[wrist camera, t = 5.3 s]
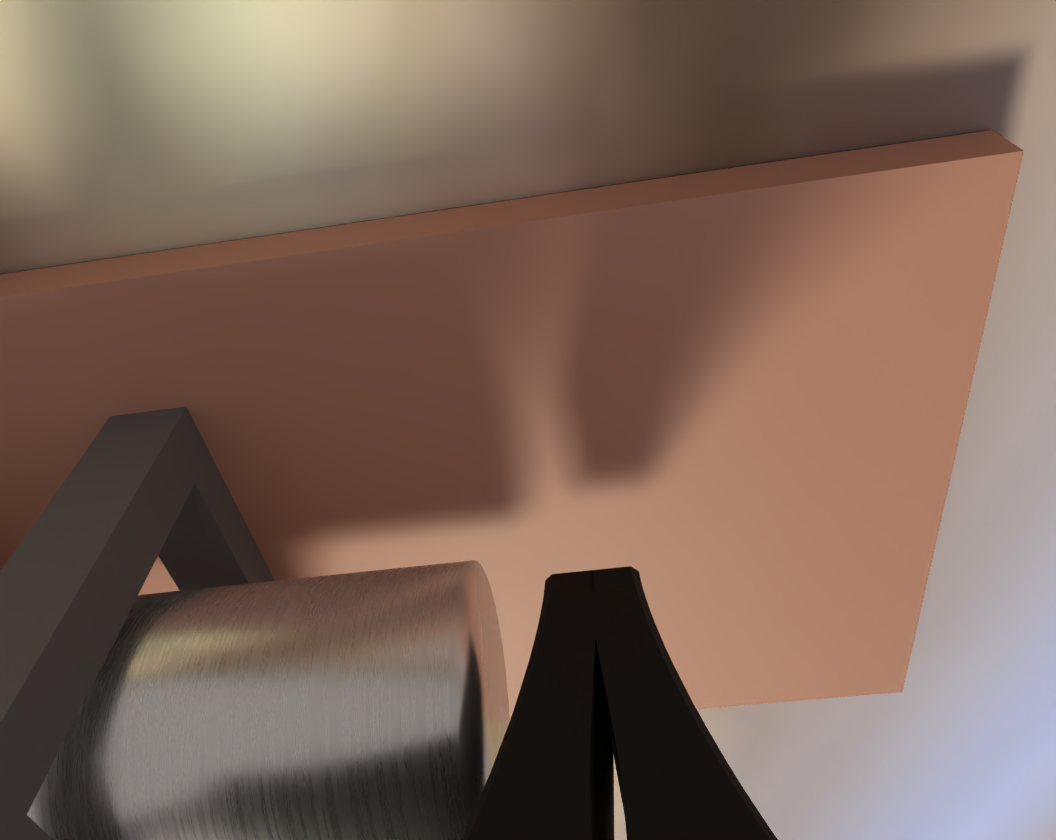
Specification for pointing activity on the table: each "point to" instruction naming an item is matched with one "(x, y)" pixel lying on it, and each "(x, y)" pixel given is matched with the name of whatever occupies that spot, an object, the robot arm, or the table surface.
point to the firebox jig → (514, 419)
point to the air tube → (290, 713)
